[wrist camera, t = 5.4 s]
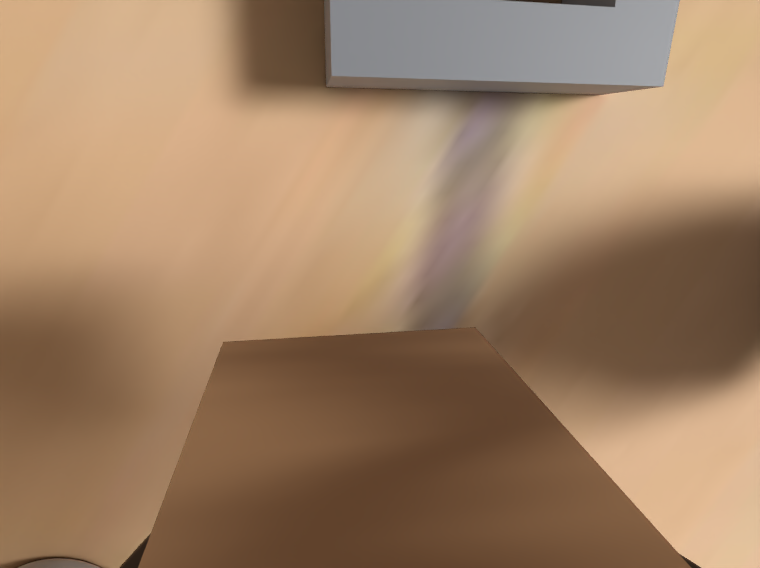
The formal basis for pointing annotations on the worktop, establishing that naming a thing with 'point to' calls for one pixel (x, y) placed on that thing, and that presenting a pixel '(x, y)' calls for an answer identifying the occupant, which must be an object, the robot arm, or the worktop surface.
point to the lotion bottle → (59, 564)
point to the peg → (388, 465)
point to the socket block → (499, 45)
